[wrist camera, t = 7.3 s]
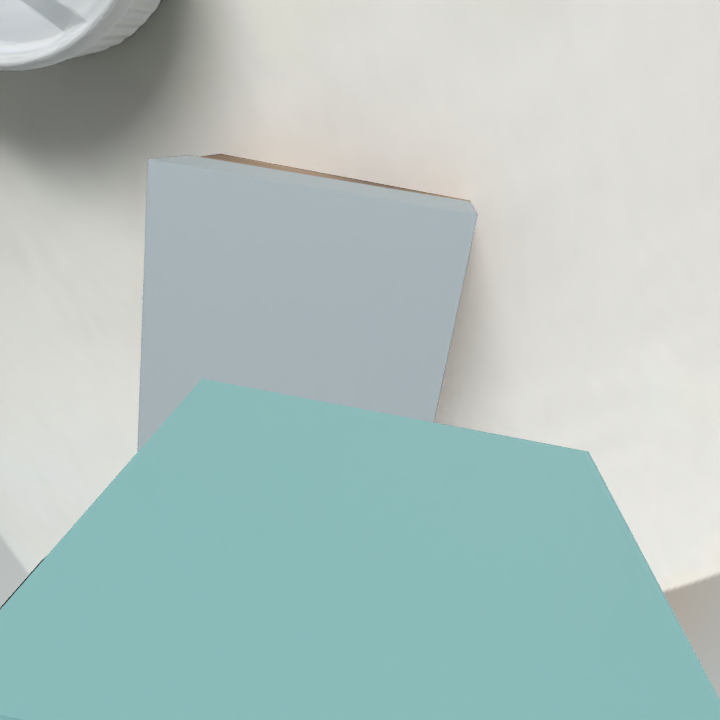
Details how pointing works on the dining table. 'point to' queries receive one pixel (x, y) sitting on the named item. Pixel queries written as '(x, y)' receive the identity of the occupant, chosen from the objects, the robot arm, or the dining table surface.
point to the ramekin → (65, 29)
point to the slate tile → (296, 287)
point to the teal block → (345, 581)
